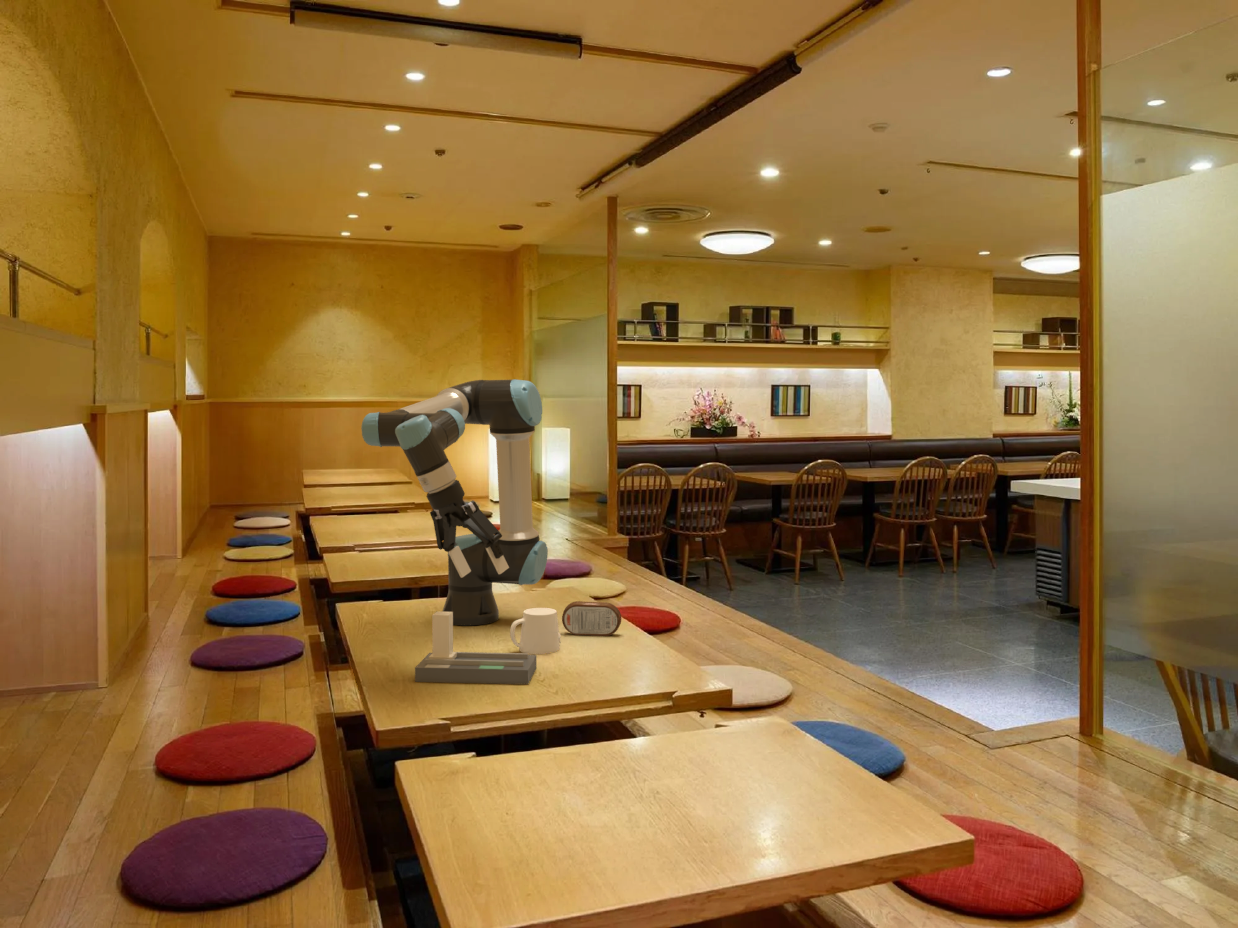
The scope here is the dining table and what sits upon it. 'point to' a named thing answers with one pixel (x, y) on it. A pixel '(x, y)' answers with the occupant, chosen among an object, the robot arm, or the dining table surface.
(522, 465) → the robot arm
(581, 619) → the tin
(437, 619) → the slider tab
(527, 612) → the mug
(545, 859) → the dining table surface
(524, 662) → the switch panel
